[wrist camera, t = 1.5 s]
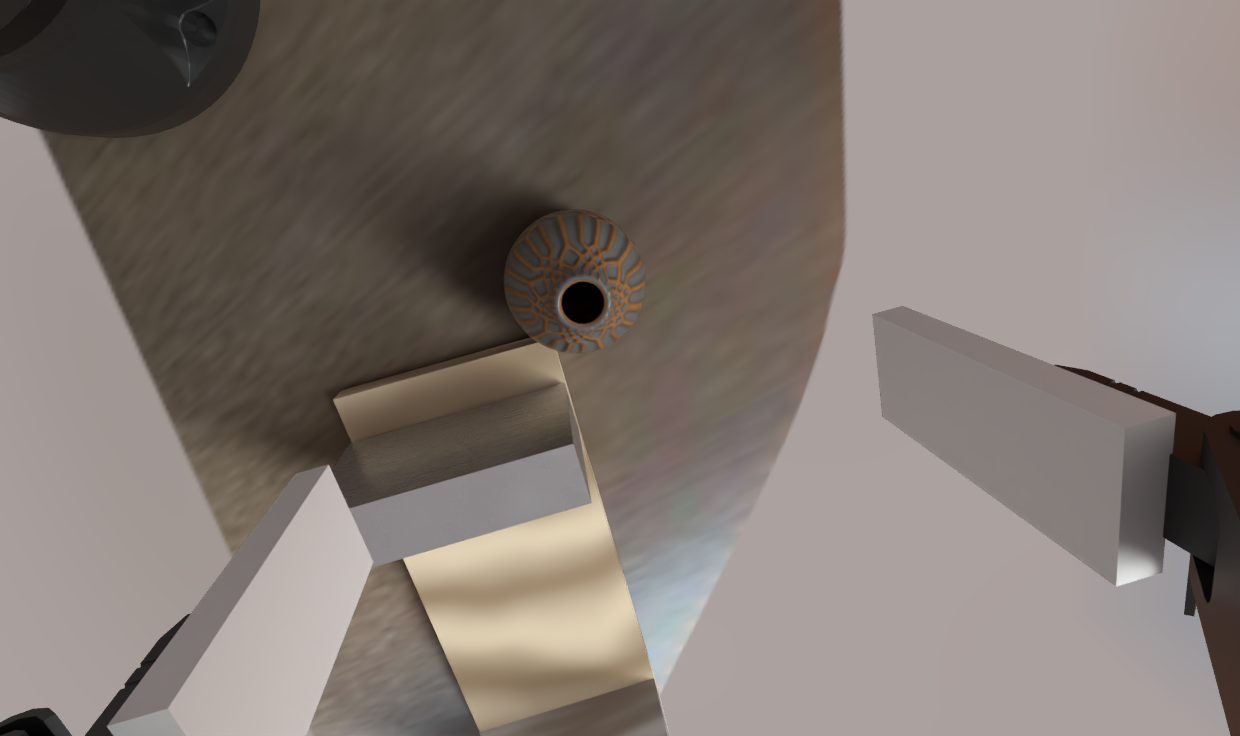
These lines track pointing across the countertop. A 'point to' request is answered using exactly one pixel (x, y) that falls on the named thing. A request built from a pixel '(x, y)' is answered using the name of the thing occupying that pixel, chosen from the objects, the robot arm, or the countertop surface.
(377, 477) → the block
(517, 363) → the vise
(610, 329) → the vase
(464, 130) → the countertop surface
